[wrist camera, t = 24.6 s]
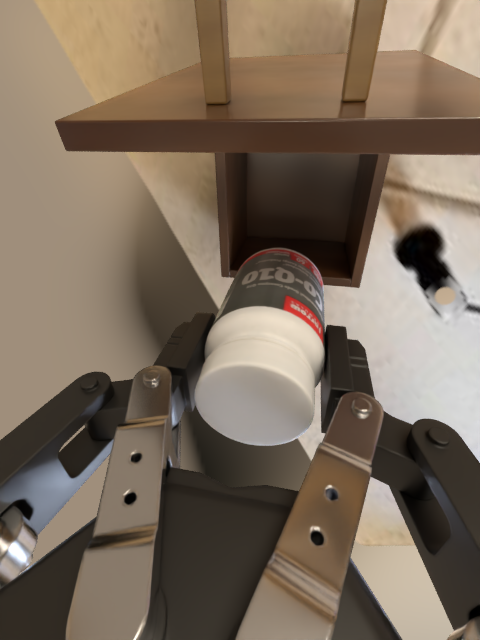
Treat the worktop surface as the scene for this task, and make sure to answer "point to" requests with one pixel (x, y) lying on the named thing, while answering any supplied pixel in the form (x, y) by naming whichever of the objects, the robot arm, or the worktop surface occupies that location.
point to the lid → (291, 101)
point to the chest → (300, 209)
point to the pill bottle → (265, 351)
